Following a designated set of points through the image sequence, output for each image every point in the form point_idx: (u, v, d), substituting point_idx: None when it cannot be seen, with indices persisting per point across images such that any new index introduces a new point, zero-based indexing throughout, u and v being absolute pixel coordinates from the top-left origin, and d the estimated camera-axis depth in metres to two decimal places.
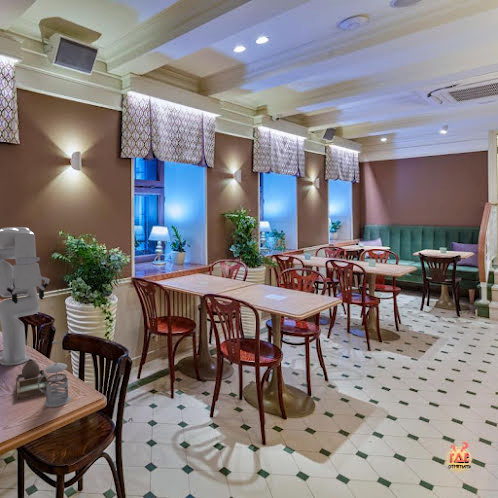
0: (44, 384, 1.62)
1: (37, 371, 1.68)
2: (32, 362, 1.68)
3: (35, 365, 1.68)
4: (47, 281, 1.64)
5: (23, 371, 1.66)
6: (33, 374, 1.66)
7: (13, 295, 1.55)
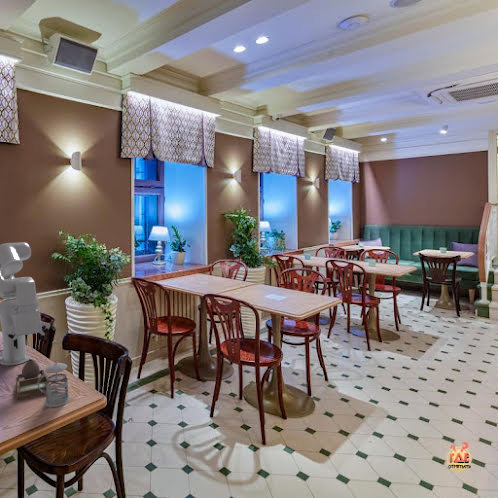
0: (44, 384, 1.62)
1: (37, 371, 1.68)
2: (32, 362, 1.68)
3: (35, 365, 1.68)
4: None
5: (23, 371, 1.66)
6: (33, 374, 1.66)
7: None
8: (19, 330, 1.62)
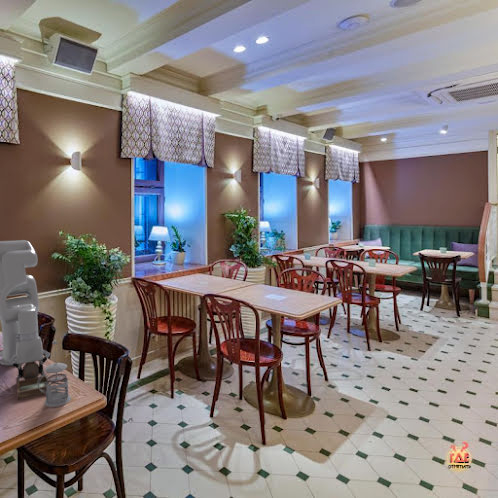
0: (44, 384, 1.62)
1: (37, 371, 1.68)
2: (32, 362, 1.67)
3: (35, 365, 1.68)
4: None
5: (23, 371, 1.66)
6: (33, 374, 1.66)
7: None
8: (21, 358, 1.64)
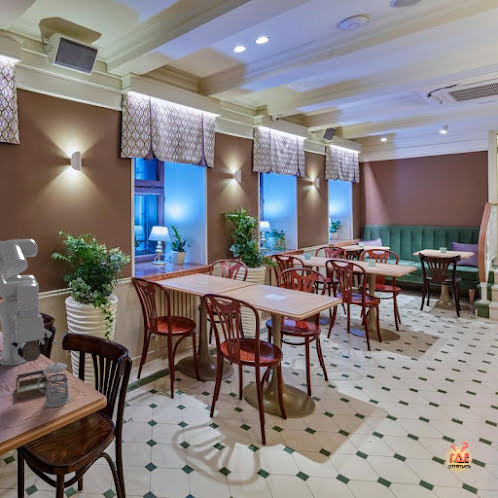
0: (44, 384, 1.62)
1: (38, 351, 1.56)
2: (33, 341, 1.56)
3: (36, 345, 1.56)
4: None
5: (23, 351, 1.54)
6: (33, 354, 1.54)
7: None
8: (20, 337, 1.52)
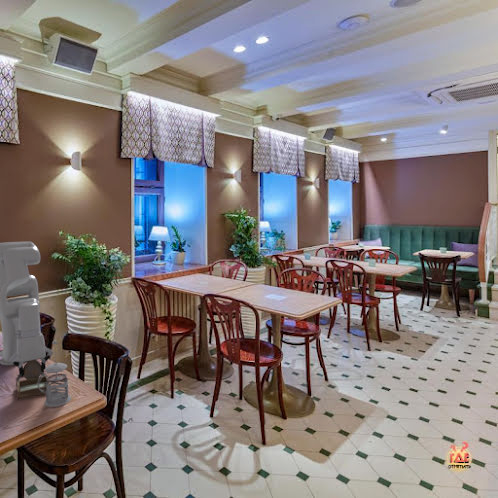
0: (44, 384, 1.62)
1: (39, 370, 1.57)
2: (34, 360, 1.56)
3: (37, 364, 1.57)
4: None
5: (24, 370, 1.55)
6: (35, 373, 1.55)
7: None
8: (22, 356, 1.53)
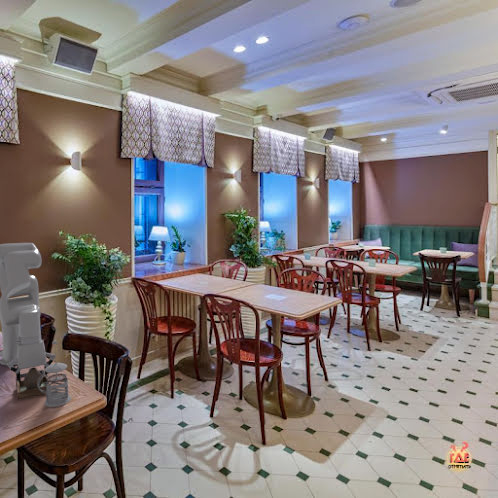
0: (44, 384, 1.62)
1: (40, 380, 1.58)
2: (35, 371, 1.57)
3: (38, 374, 1.58)
4: None
5: (25, 380, 1.55)
6: (36, 384, 1.56)
7: None
8: (22, 363, 1.53)
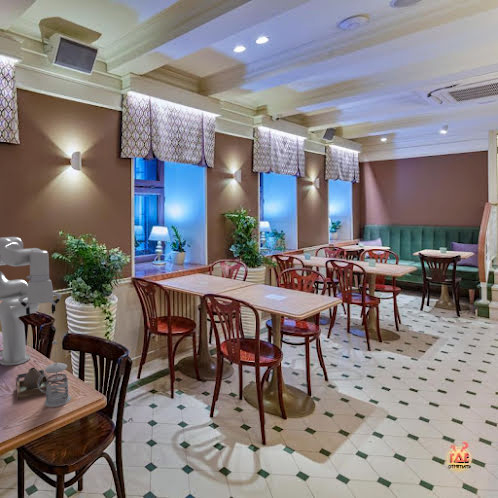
0: (44, 384, 1.62)
1: (40, 380, 1.58)
2: (35, 371, 1.57)
3: (38, 374, 1.58)
4: None
5: (25, 380, 1.55)
6: (35, 384, 1.56)
7: None
8: (32, 299, 1.67)
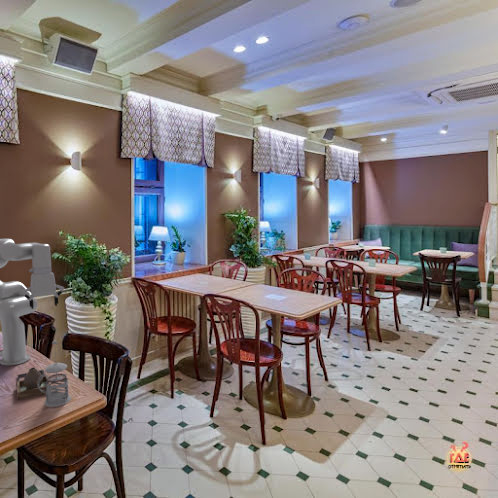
0: (44, 384, 1.62)
1: (40, 380, 1.58)
2: (35, 371, 1.57)
3: (38, 374, 1.58)
4: None
5: (25, 380, 1.55)
6: (35, 384, 1.56)
7: None
8: (35, 291, 1.71)
